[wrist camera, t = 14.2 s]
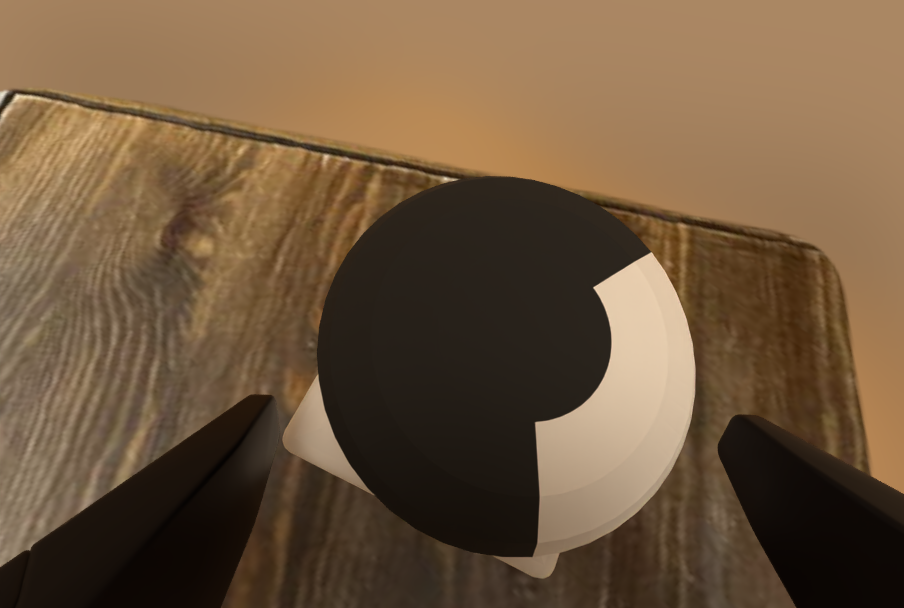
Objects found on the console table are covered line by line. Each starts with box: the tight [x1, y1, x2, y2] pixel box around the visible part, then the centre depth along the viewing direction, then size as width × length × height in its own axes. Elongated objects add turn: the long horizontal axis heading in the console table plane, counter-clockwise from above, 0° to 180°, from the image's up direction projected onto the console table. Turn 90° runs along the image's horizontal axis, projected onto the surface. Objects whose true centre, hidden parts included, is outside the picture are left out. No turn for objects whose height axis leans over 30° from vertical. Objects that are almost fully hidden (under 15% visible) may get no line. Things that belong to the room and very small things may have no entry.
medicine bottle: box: [282, 176, 695, 579], centre depth 12 cm, size 7×7×12 cm
